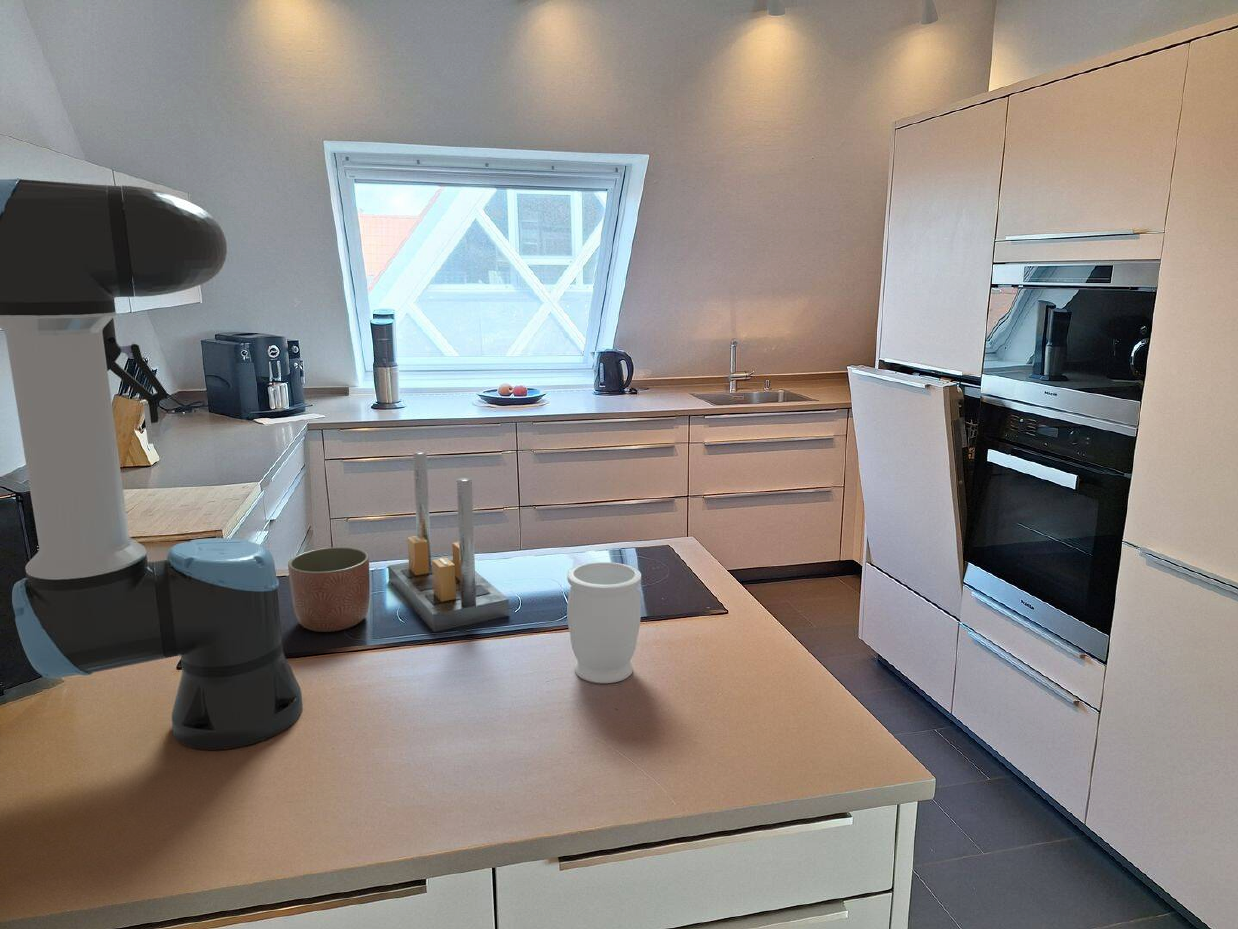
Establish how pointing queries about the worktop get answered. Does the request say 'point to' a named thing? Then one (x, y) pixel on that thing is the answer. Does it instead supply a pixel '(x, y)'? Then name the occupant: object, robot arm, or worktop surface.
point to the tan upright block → (456, 559)
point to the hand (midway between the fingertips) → (102, 446)
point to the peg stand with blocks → (472, 589)
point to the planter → (330, 588)
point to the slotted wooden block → (444, 579)
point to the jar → (603, 619)
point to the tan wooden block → (418, 555)
